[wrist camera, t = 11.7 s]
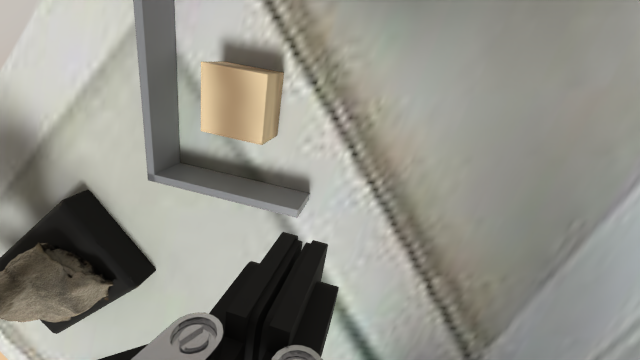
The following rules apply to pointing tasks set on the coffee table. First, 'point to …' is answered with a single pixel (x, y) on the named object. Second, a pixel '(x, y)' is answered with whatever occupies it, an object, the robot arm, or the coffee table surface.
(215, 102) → the wooden block
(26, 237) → the coral
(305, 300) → the robot arm
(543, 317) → the coffee table surface
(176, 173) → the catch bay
